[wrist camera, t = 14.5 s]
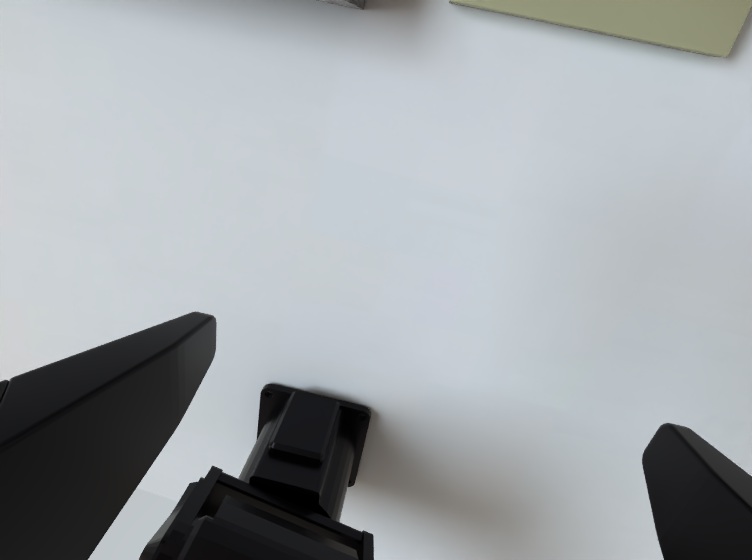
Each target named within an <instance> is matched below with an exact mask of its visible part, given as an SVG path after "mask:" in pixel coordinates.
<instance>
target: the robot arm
mask: <svg viewBox="0 0 752 560" xmlns="http://www.w3.org/2000/svg"><path fill="white" fill-rule="evenodd" d="M215 351H216V318H215V317H214V316H213V315H209V314H205V313H201V312H192V313H189V314H186V315H184V316H181V317H178V318H175V319H173V320H170V321H167V322H164V323H162V324H159V325H156V326H153V327H151V328H148V329H145V330H142V331H140V332H137V333H134V334H131V335H128V336H126V337H123V338H120V339H117V340H115V341H112V342H109V343H106V344H104V345H101V346H98V347H95V348H93V349H90V350H87V351H84V352H82V353H79V354H76V355H73V356H70V357H68V358H65V359H62V360H59V361H57V362H54V363H51V364H48V365H46V366H43V367H40V368H37V369H34V370H32V371H29V372H26V373H23V374H21V375H18V376H15V377H13V378H11V379H10V381H8V380H4V381H1V382H0V560H88V558H89V557H90V555H91V554H92V553H93V551H94V550H95V548H96V546H97V545H98V544H99V542H100V541H101V539H102V538H103V536H104V534H105V533H106V532H107V530H108V529H109V527H110V526H111V524H112V523H113V521H114V520H115V519H116V517H117V516H118V514H119V512H120V511H121V509H122V508H123V506H124V505H125V504H126V502H127V501H128V499H129V498H130V496H131V495H132V493H133V492H134V490H135V489H136V487H137V486H138V485H139V483H140V482H141V480H142V479H143V477H144V476H145V474H146V473H147V471H148V470H149V468H150V467H151V465H152V464H153V462H154V461H155V459H156V458H157V456H158V455H159V453H160V452H161V451H162V449H163V448H164V446H165V445H166V443H167V442H168V440H169V439H170V437H171V436H172V434H173V433H174V431H175V430H176V428H177V426H178V425H179V423H180V422H181V420H182V418H183V416H184V414H185V413H186V411H187V409H188V407H189V405H190V403H191V401H192V399H193V397H194V395H195V393H196V391H197V390H198V388H199V386H200V384H201V382H202V380H203V378H204V376H205V374H206V372H207V370H208V369H209V367H210V365H211V363H212V361H213V358H214V355H215ZM269 392H271V393H272V394H270V393H269ZM360 414H363V415H365V416H361V415H360ZM370 417H371V411H370V409H368V408H367V407H365V406H361V405H357V404H353V403H349V402H345V401H341V400H336V399H332V398H328V397H324V396H320V395H316V394H312V393H307V392H303V391H299V390H295V389H291V388H287V387H283V386H278V385H274V384H266V385H265V386H264V387H263V389H262V391H261V397H260V409H259V420H258V432H257V441H256V443H255V445H254V447H253V450H252V452H251V454H250V456H249V458H248V460H247V462H246V464H245V466H244V468H243V470H242V472H241V474H240V476H239V478H238V479H237V478H235V477H233V476H231V475H228V474H226V473H224V472H222V471H223V470H222V469H219V468H217V467H215V466H212V467H211V469H210V471H209V472H208V474H207V475H206V477H205V479H204V478H202V477H201V478H200V480H199V481H198V482H194V483H190V484H189V486H188V487H187V489H186V491H185V492H184V494H183V496H182V497H181V499H180V501H179V502H178V504H177V506H176V507H175V509H174V510H173V512H172V513H171V515H170V516H169V517H168V518H167V520H166V521H165V522H164V524H163V525H162V526H161V527H160V529H159V530H158V531H157V532H156V534H155V535H154V536H153V537H152V539H151V540H150V541H149V542H148V544H147V545H146V547H145V548H144V550H143V552H142V554H141V556H140V558H139V560H374V542H373V534H370V533H368V532H366V531H362V532H361V531H358V530H356V529H354V528H351V527H349V526H347V525H344V524H342V523H340V522H339V521H340V517H341V512H342V508H343V504H344V499H345V495H346V491H347V487H351V486H353V485H354V484H355V480H356V476H357V472H358V467H359V463H360V459H361V455H362V451H363V447H364V443H365V438H366V434H367V430H368V426H369V422H370ZM642 465H643V470H644V475H645V479H646V484H647V489H648V494H649V499H650V504H651V508H652V513H653V518H654V523H655V528H656V532H657V536H658V540H659V544H660V547H661V551H662V554H663V558H664V560H752V476H750V475H749V474H748V473H746V472H745V471H744V470H743V469H741V468H740V467H739V466H737V465H736V464H735V463H734V462H732V461H731V460H730V459H728V458H727V457H726V456H725V455H723V454H722V453H721V452H719V451H718V450H717V449H715V448H714V447H713V446H712V445H710V444H709V443H708V442H706V441H705V440H704V439H703V438H701V437H700V436H699V435H697V434H696V433H695V432H694V431H692V430H691V429H689V428H687V427H684V426H680V425H675V424H671V423H665V424H663V425H661V426H660V427H659V429H658V430H657V432H656V433H655V435H654V437H653V438H652V440H651V441H650V443H649V444H648V446H647V447H646V449H645V451H644V453H643V457H642Z"/></svg>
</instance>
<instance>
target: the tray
mask: <svg viewBox="0 0 752 560" xmlns="http://www.w3.org/2000/svg"><path fill="white" fill-rule="evenodd" d="M318 1H323V2H328V3H333V4H338V5H343V6H348V7H352V8H357V9H362V10H363V9H364V2H365V0H318Z"/></svg>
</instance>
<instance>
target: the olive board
mask: <svg viewBox="0 0 752 560" xmlns="http://www.w3.org/2000/svg"><path fill="white" fill-rule="evenodd" d="M449 3H454V4H459V5H464V6H469V7H474V8H478V9H483V10H488V11H493V12H498V13H503V14H508V15H513V16H518V17H523V18H527V19H532V20H537V21H542V22H547V23H552V24H557V25H562V26H567V27H572V28H577V29H581V30H586V31H591V32H596V33H601V34H606V35H611V36H616V37H621V38H626V39H630V40H635V41H640V42H645V43H650V44H655V45H660V46H665V47H670V48H675V49H679V50H684V51H689V52H694V53H699V54H704V55H709V56H714V57H727V56H728V54H729V52H730V50H731V48H732V46H733V44H734V42H735V40H736V38H737V36H738V34H739V32H740V30H741V28H742V26H743V24H744V21H745V19H746V17H747V15H748V13H749V11H750V9H751V7H752V0H450V2H449Z"/></svg>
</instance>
